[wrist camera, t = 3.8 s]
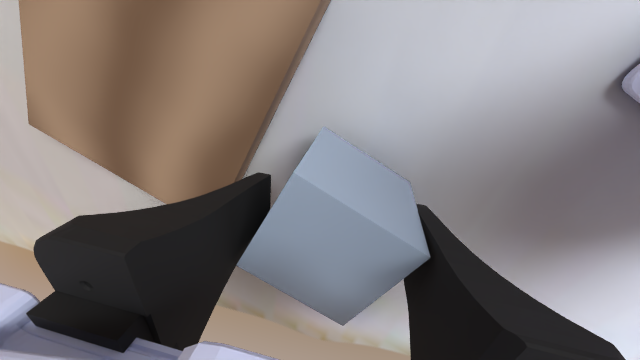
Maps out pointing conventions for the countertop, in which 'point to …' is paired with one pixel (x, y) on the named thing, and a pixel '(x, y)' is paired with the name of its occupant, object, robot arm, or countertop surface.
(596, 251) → the countertop surface
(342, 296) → the slate cube
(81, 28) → the walnut board
